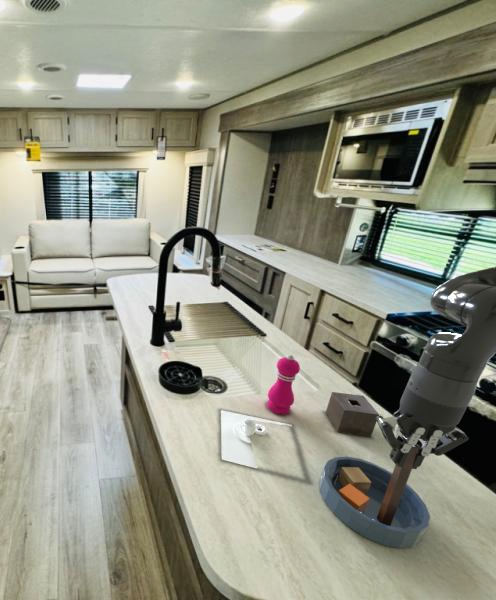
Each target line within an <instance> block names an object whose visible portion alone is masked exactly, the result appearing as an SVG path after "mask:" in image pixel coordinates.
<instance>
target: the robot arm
mask: <svg viewBox="0 0 496 600" xmlns="http://www.w3.org/2000/svg"><path fill="white" fill-rule="evenodd" d="M429 301H430V307H431V308H432V310H433V311H434V312H435V313H436V314H438V315H440V316H442V317H444V318H446V319H448V320H450V321H453V322H455V323H458V324H460V325H462V326H465V327H466V328H465V330H464V332H463V333H462V334H459V333H451V332H437V333H434V334H433V335H431V336H430V337H429V339H428V340H427V342H426V344H425V346H424V349H423V351H422V354H421V356H420V358H419V361H418V363H417V364H416V366H415V367H414V368H413V370H412V372H411V374H410V376H409V379H408V381H407V383H406V386H405V389H404V390H403V393H402V396H401V398H400V401H399V409H397V410H396V411H395V412H394V413H393V415H392V416H389V417H384V416H382V415H379V416H377V417H376V421H377V422H376V424H377V425H378V427H379V430H380V432H381V434H382V436H383V439H384V440H385V441H386V443H387V444H388V445H389V447H391V450H390V453H389V459H390V460H391V461H392V462H393V463H394V466H395V465H396V466H399V467H403V465H404V463H405V460H406V458H407V456H408V452H409V451H410V449H411V447H412V445H417V446H418V447H419V448H420V449H419V451H418V454H417V456H416V459H415V462H414V464H413V467H412V470H417V468H419V467H420V466H422V463H423V462H424V460H425V458H426V457H428V456H430V455H432V454H433V455H435V456H437V457H439V456H442V455H444V454H446V453H448V452H449V451H451V450H454V449H455V448H456V447H458V446H460V445H462V444H464V443H466V442H468V441H469V439H470V438H469V436H467V435H466V433H465V432H464V431H462V430H461V429H460V428H459V427H458V426H457V425H459V424H460V422H461V420H462V419H463V416H464V414H465V412H466V410H467V408H468V407H469V405H470V402H471V401H472V400H473V397H474V395H475V393H476V389H477V386H478V383H479V381H480V379H481V376H482V375H483V373H484V371H485V369H486V367H487V365H488V362H489V361H490V359H492V357H493V356H495V354H496V266H493V267H489V268H488V267H487V268H485V269H484V268H483V269H479V270H475V271H472V272H468V273H464V274H460V275H457V276H455V277H452V278H451V279H449V280H446V281H445V282H443V283H442V284H440V285H439V286H438V287H437V288H435V290H434V291H433V293H432V295H431V297H430V300H429ZM396 425H397V428H396ZM395 431H396V435H395V433H394V432H395ZM441 443H442V444H441ZM440 444H441V445H440ZM437 445H439V446H437Z"/></svg>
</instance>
